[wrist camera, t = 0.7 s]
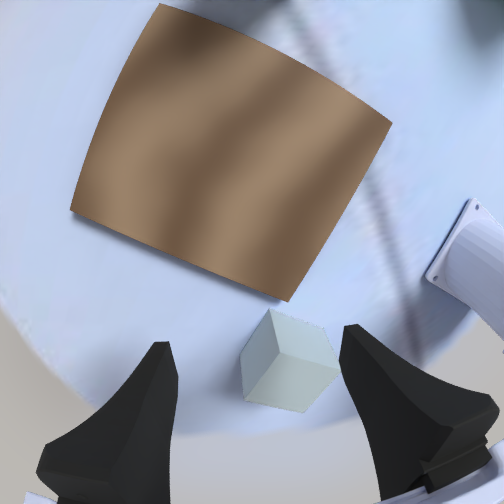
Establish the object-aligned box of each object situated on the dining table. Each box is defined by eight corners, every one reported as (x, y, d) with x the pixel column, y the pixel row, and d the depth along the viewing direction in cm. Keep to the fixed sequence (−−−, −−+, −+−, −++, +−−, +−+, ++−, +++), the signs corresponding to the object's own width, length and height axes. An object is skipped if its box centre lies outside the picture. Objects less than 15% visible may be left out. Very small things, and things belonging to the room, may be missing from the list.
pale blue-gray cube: (323, 327, 24) (342, 370, 20) (291, 369, 26) (303, 413, 21) (269, 307, 23) (280, 352, 19) (239, 353, 25) (243, 400, 20)
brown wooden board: (385, 122, 18) (392, 122, 17) (285, 294, 23) (288, 302, 22) (162, 8, 14) (159, 3, 13) (75, 205, 19) (69, 209, 18)
